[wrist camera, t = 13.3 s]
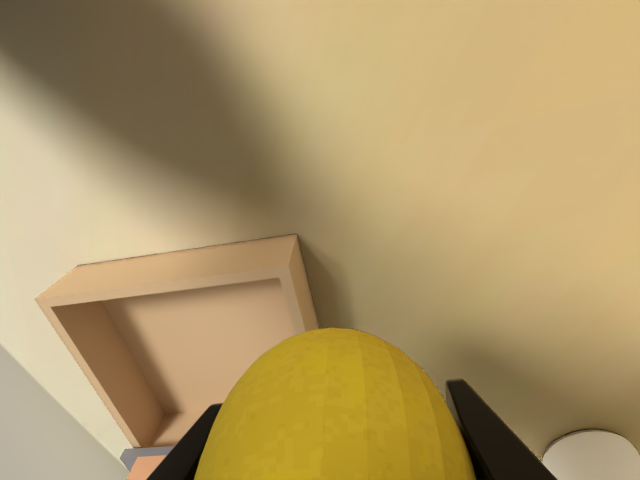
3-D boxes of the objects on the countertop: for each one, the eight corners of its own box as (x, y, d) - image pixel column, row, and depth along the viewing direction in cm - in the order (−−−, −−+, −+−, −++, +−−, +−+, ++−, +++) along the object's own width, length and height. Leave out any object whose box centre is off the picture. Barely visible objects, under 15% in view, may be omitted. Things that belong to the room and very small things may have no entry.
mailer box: (77, 265, 22) (34, 299, 19) (296, 233, 20) (288, 265, 17) (162, 414, 28) (140, 458, 25) (336, 401, 26) (335, 447, 23)
